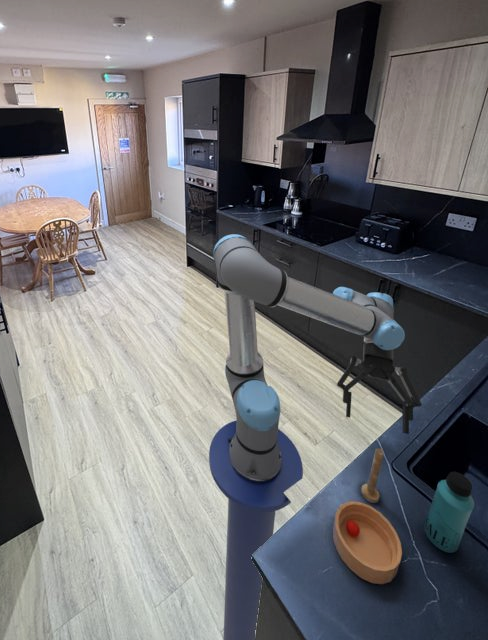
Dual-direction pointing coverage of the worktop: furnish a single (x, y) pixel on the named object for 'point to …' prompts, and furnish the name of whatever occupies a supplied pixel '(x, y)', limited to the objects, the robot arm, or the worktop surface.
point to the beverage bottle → (449, 512)
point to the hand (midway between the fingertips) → (376, 425)
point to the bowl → (367, 543)
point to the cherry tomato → (352, 528)
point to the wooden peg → (373, 478)
